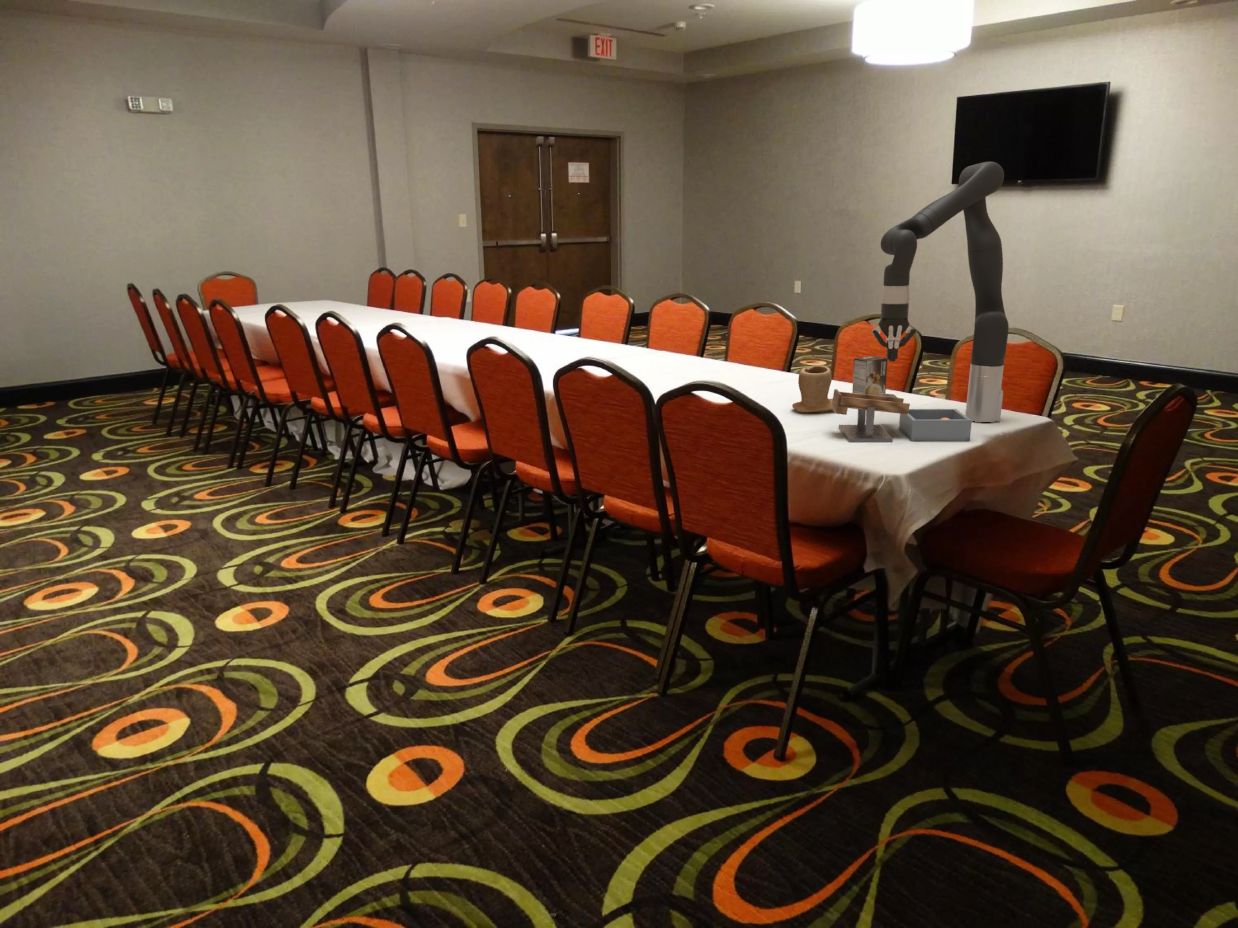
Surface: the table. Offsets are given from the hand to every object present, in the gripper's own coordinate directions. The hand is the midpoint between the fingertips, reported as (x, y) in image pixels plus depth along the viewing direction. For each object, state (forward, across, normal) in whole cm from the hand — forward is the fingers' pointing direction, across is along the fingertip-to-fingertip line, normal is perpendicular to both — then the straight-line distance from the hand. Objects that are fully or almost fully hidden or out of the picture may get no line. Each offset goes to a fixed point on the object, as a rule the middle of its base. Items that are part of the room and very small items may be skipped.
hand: (891, 361), depth 246 cm
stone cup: (+20, +18, -21) cm, 34 cm away
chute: (+14, +8, +5) cm, 17 cm away
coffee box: (+20, 0, -28) cm, 35 cm away
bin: (+20, -11, +10) cm, 25 cm away
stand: (+20, +9, +10) cm, 24 cm away
